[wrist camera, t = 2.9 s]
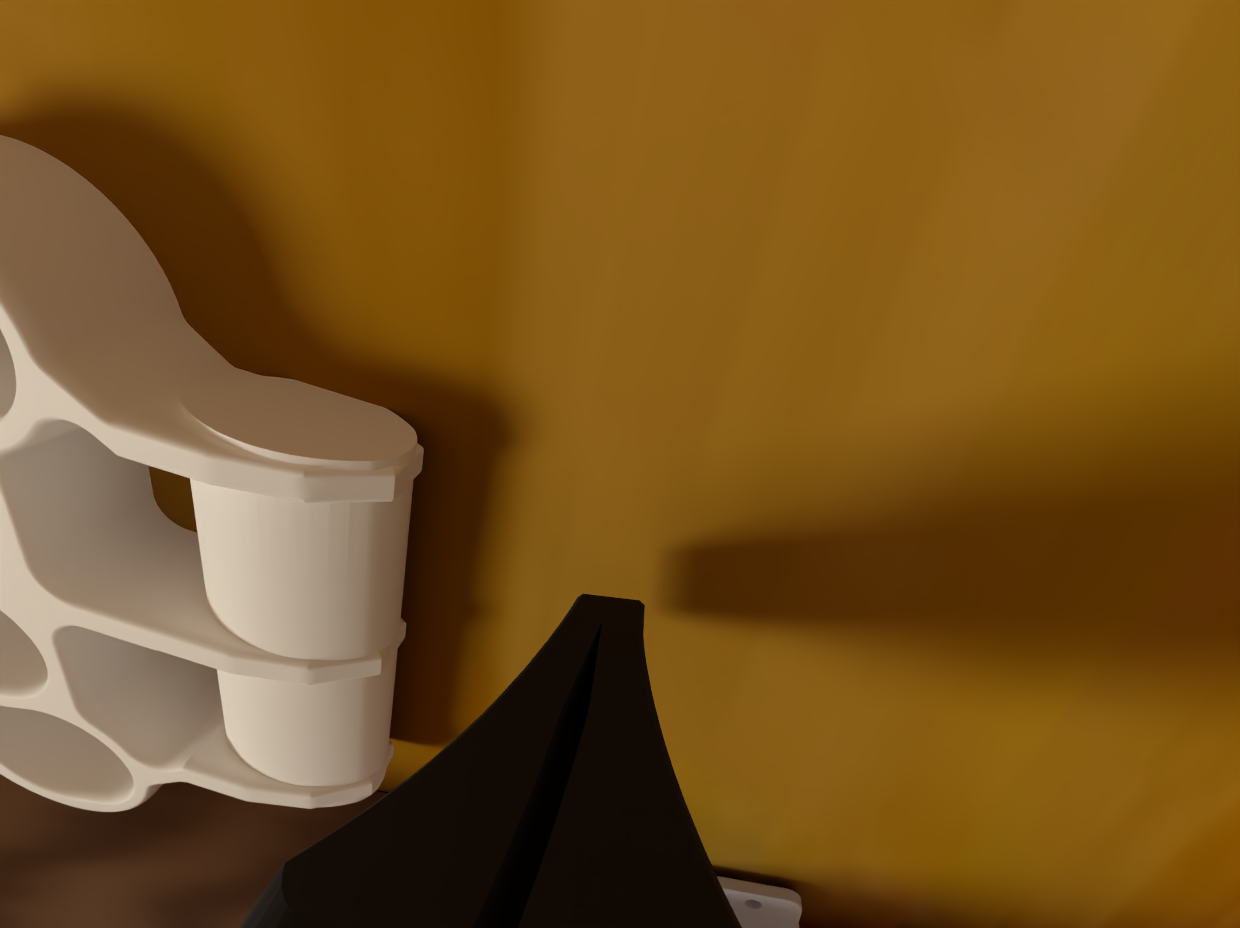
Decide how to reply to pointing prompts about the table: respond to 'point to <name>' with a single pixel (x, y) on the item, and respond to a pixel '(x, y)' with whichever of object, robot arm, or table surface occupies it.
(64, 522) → the white multi-hole holder
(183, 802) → the shelf wall
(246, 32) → the table surface
